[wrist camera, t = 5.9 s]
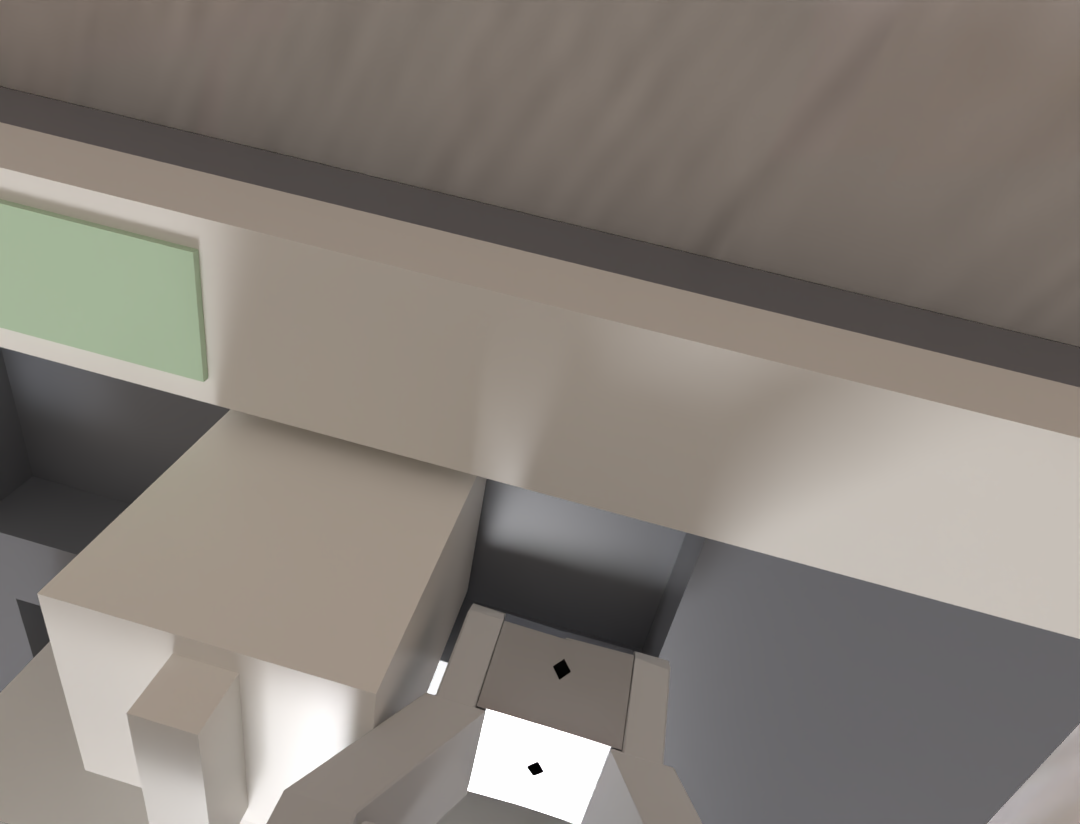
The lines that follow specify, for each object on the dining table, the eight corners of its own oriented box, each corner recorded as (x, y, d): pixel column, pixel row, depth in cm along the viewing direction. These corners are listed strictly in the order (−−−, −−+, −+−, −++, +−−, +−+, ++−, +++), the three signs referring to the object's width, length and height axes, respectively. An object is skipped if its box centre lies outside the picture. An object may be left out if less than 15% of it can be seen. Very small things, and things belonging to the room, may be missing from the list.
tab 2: (493, 440, 12) (345, 760, 8) (467, 590, 14) (336, 921, 10) (262, 379, 13) (-21, 648, 8) (266, 533, 15) (41, 826, 10)
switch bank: (1168, 369, 11) (1300, 497, 9) (789, 890, 20) (798, 1032, 17) (-63, 71, 13) (-264, 105, 10) (84, 676, 22) (-4, 777, 19)
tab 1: (289, 627, 16) (101, 925, 11) (290, 727, 18) (129, 1018, 13) (113, 575, 16) (-146, 844, 11) (132, 679, 18) (-81, 946, 13)
